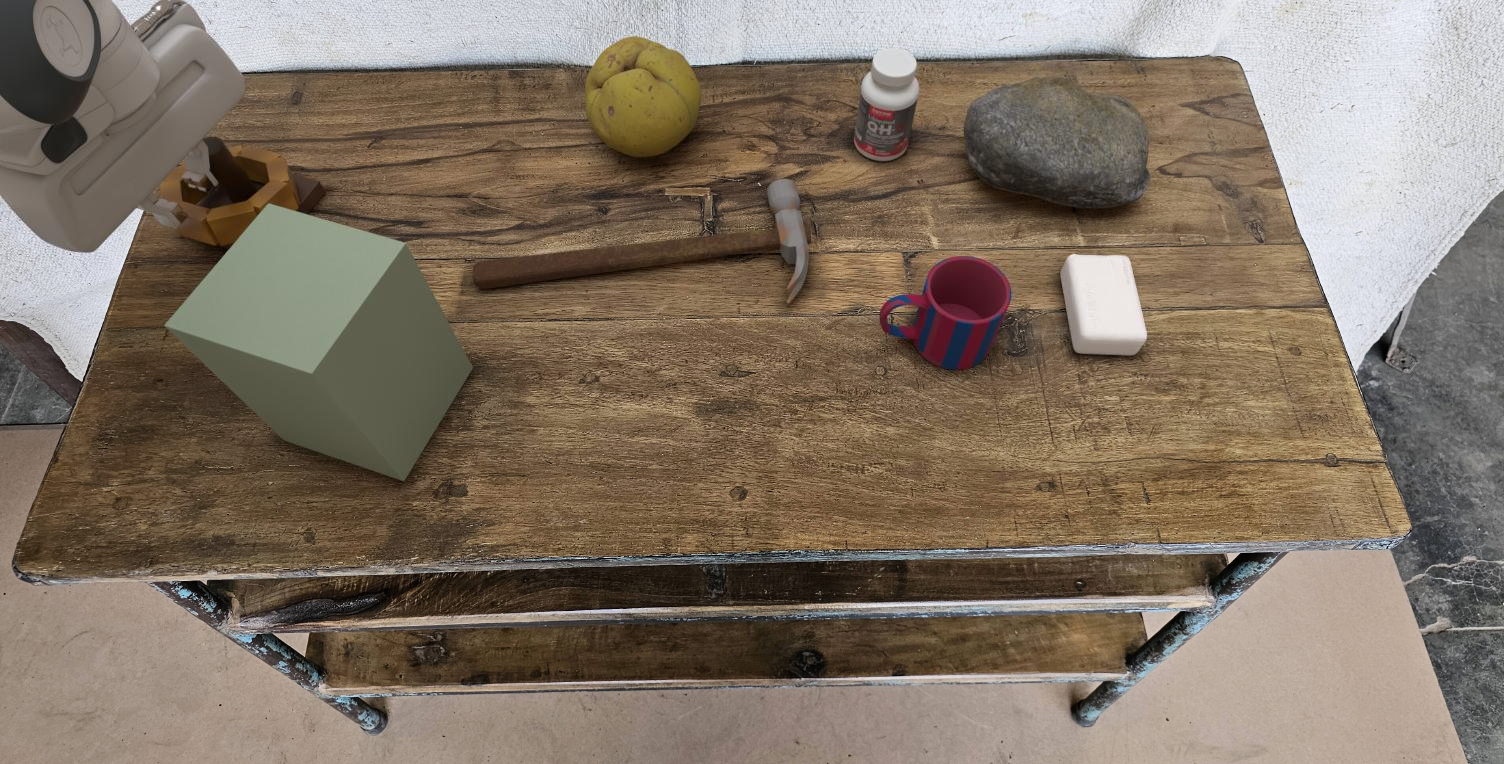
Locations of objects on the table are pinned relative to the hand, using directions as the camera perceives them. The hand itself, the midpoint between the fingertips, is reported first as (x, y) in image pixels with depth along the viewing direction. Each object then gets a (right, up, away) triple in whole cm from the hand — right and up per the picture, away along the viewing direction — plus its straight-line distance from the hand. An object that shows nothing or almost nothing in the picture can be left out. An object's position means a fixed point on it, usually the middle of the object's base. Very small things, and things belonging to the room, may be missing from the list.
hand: (191, 204), depth 73 cm
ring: (+1, +1, +5) cm, 5 cm away
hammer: (+38, -5, +4) cm, 39 cm away
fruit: (+38, +9, +12) cm, 41 cm away
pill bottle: (+61, +8, +12) cm, 62 cm away
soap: (+78, -9, +1) cm, 78 cm away
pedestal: (+18, -17, -3) cm, 25 cm away
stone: (+76, +5, +10) cm, 77 cm away
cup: (+63, -11, 0) cm, 64 cm away
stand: (+1, +1, +7) cm, 7 cm away
